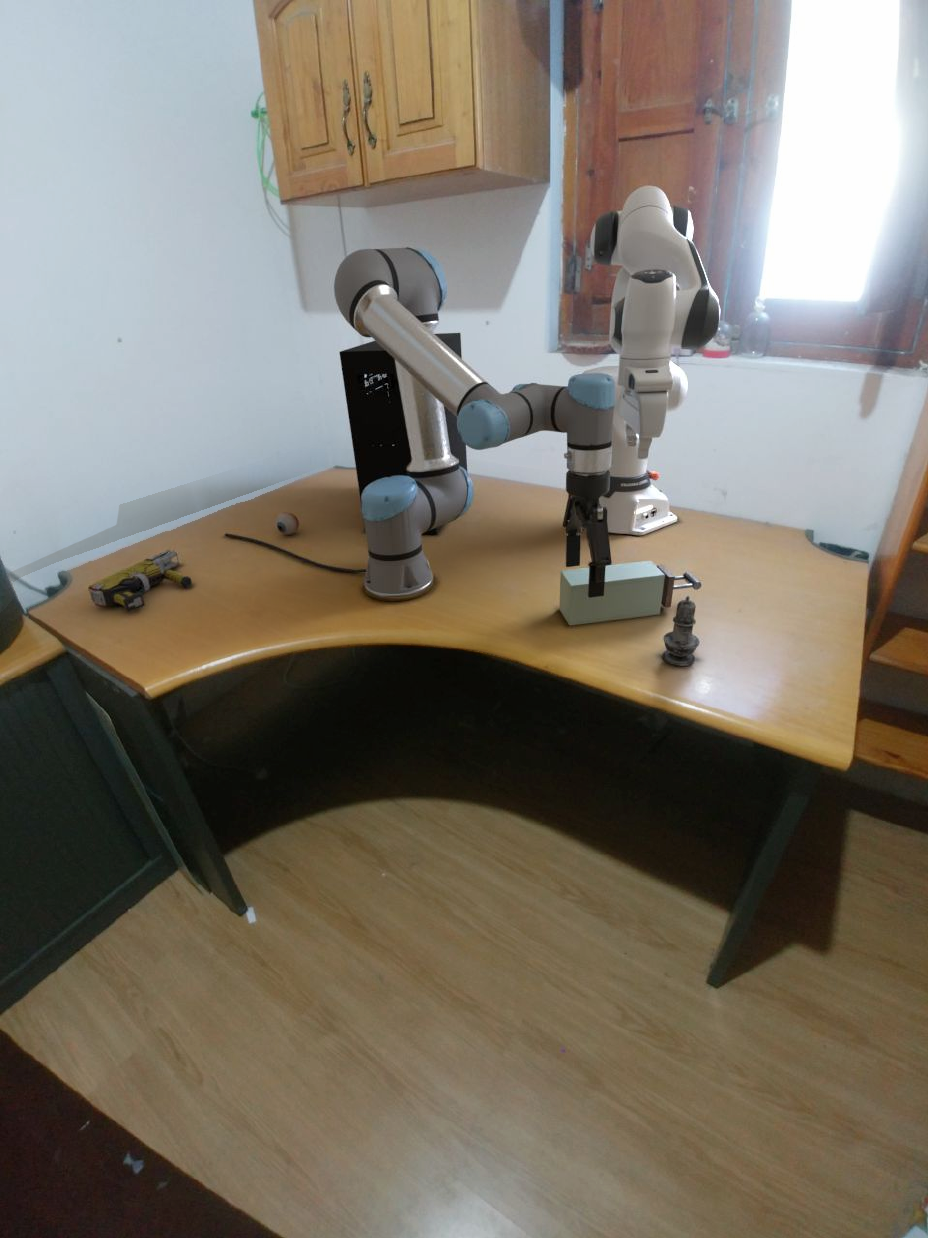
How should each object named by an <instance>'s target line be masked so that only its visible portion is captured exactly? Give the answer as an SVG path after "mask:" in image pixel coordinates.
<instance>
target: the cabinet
mask: <svg viewBox="0 0 928 1238" xmlns="http://www.w3.org/2000/svg"><path fill="white" fill-rule="evenodd" d="M664 578H665V574H664V573H663V572H661V571H660V570H659V569H658V568H657V565H656V564H655V563H653V562H652V561H651V560H642V561H635V562H626V563H625V562H624V563H615V564H611V565H607V566H606V568H605V585H604V596H599V597H591V598H589V596H588V586H589V567H581V568H573V569H565V570H564V569H563V570H560V578H559V579H560V580H559V581H560V582H559V605H558V606H559V608H558V609H559V612H561V614H562V616H563V617H564V619H565V621H566V623H567V624H568V625H569V626H579V625H585V624H595V623H602V622H610V621H617V620H618V621H619V620H625V619H633V618H640V617H650V616H657V615H661V607H662V604H661V601H662V593H663V586H664Z"/></svg>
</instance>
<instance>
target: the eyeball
mask: <svg viewBox="0 0 928 1238" xmlns="http://www.w3.org/2000/svg"><path fill="white" fill-rule="evenodd" d="M299 525H300V522H299V519H298V517H297V516H296V515H295V514H294V513H292V512H287V511H286V512H282V513H280V514H279V515H278V516H277V517H276V520H275V527H276V529H277V530H278V531H279V532H280V533H281V534H282V535H285V536H286V535H287V536H289V535H293V534H295V533H296V532H297V531H298V529H299Z"/></svg>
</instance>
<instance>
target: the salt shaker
mask: <svg viewBox="0 0 928 1238" xmlns="http://www.w3.org/2000/svg"><path fill="white" fill-rule="evenodd" d="M696 608H697V606H696V604H695V601H692V600H690V596H688V595H687V596H686V597H685V599H682V600H680V601H679V602H678V603H677V606H676V611H675V616H674V617H673V618H672V622H673V629H672V631H668V632H666V633H665V634H664V635H663V637H662V641H663V642H664V646H665V649H666V650H664V652H663V653H662V658H663V660H665V662H667V663H669V664H671V665H673V666H679V667H686V666H687V667H688V666H691V665H692V664H693V663H694V662H695V661H696V657H695V655H694V653H695V651H696V650H697V649H698V647H699V645H700V639H699V638H698V637H697V636H696V635H694V634H693V628H694V626H695V625H696V623H697V621H696V619H695V614H696Z"/></svg>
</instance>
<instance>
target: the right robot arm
mask: <svg viewBox="0 0 928 1238" xmlns="http://www.w3.org/2000/svg"><path fill="white" fill-rule="evenodd" d="M693 235H694V223H693V219H692V213H691V211H690V210H689V208H687V207H683V206H680V205H673V206H672V207H671V204H670V202H669V199H668V197H667V194H666V193H665V192H664V191H663V190H662V188H660V187H657V186H655V185H643V186H641V187H638V188H637V189H634V191H632V192H631V193H630V194H629V196H627V198H626V199H625V202H624V205H623V207H622V209H621V210H610V211H607V212H604V213H602V214H600V215H599V217H597V219H596V220H595V224H594V225H593V227H592V231H591V233H590V240H589V242H590V251H591V253H592V256H593V260H594V261H595V263H596V265H597V264H598V265H600V266H605V267H611V266H621V268H620V269H619V270H618V272H617V274H616V277H615V282H614V285H613V291H612V296H611V303H610V316H609V336H608V340H609V344H610V346H611V348H612V349H613V351H614V352H615V353H616V354H617V355H619V357H618V365H614V366H612V365H609V366H608V365H607V366H606V365H605V366H604V365H603V366H600V367H594V368H591V369H587V370H585V371H583V372H582V373H581V374H586V373H591V374H594V373H602V374H608V375H610V376H611V377H612V378H613V379H614V400H615V406H614V413H613V427H612V457H611V467H610V469H608V471H609V472H610V485H609V491H608V492H607V493H606V494H605V495H602V496H601V497H600V498H599V501H600V504H601V508H602V507H606V508H607V524H608V533H611V534H623V535H625V534H626V535H632V536H633V535H634V536H645V535H646V534H650V533H652V532H654V531H657V530H660V529H662V528H665V527H668V526H670V525H672V524H675V523H677V522H678V516H677V515H676V514H675V513H674V512H672V511H670V503H669V502H670V501H669V498H668V497H667V496H666V495H665V494H664V493H663V492H662V490H661V489H658V488H656V487H655V486H654V485H652V483H651V480H653V481H658V479H659V478H660V473H659V472H657V471H654V470H651V471H649V470H648V469H647V466H648V458H649V451H650V448H651V445H652V442H653V439H655V438H660V437H661V435H662V434H663V431H664V429H665V428H664V427H665V423H666V417H667V414H668V413H670V412H671V413H673V412H675V411H677V410H679V409H680V407H681V406H682V405H683V403H684V402H685V401H686V398H687V395H688V390H689V383H688V378H687V375H686V374H685V372H684V370H683V369H681V367H679V366H678V365H676V364H675V363H674V362H672V361H671V358H672V349H678V350H679V349H681V350H688V351H689V350H691V351H699V350H701V349H702V348H703V347H704V346H706V345H707V344H708V343H710V341H712V340H713V339H714V338H715V336H716V335H717V332H718V329H719V325H720V320H721V307H720V301H719V298H718V296H717V294H716V293H715V291H714V289H713V288H712V287H711V285H710V283H709V280H708V277H707V274H706V271H705V268H704V265H703V263H702V260H701V257H700V255H699V252H698V250H697V248H696V245H695V244H694V242H693V241H692V240H693ZM677 287H678V289H679V290H678V289H677Z"/></svg>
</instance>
